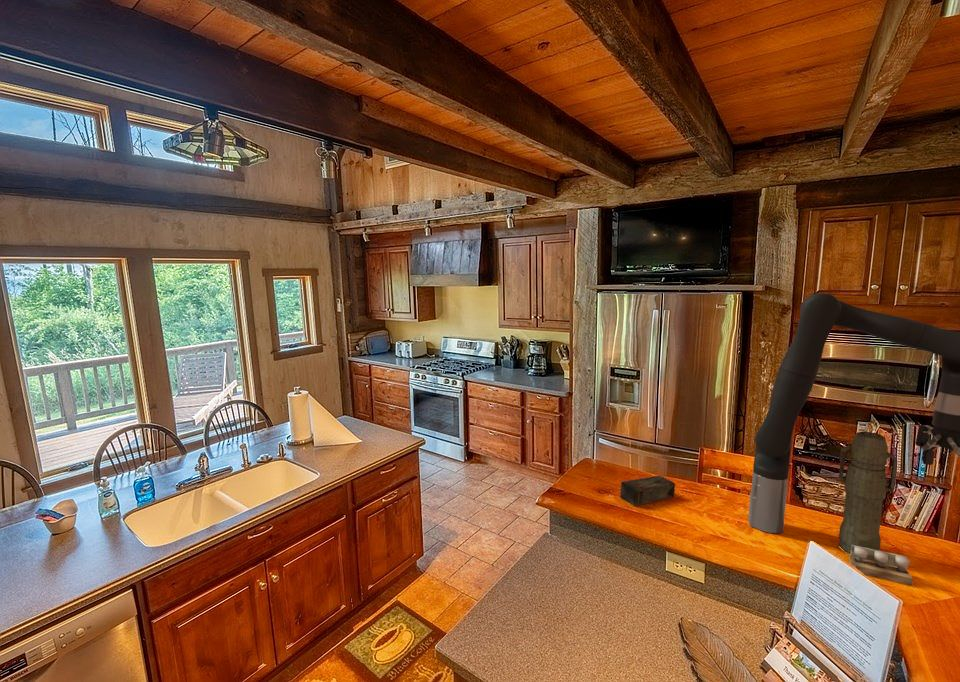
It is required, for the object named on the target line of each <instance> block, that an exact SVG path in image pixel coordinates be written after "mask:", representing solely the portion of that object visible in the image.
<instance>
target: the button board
mask: <svg viewBox="0 0 960 682" xmlns="http://www.w3.org/2000/svg"><path fill="white" fill-rule="evenodd" d="M855 546H856V545H851V554H850V555H849V557H848V559H849V564H850V565H851V566H852V565H853V566H855V567H856V568H857V569H858V570H860V571H861V572H862V573H864V574H865V576H868V577H873V578H876V579H877V578H878V579H881V580H884V579H885V580H886V581H888V582H889V581H890V582H893V583H897V582H898V583H897V584H902V585H905V586H909V587H912V586H913V584H914V583H913V581H914V578H913V577H912V576H911V574H910V573H909V571H908V570H907V568H905V573H902V572H898V571H897V568H898V565H897V564H896V563H895V557H896V555H898V554H896V553H892V552H887V551H883V550H881V551H882V552H885V553H886V554H888V561H887V563H884V568H880V567H877V566H876V564H877V560H876V559H874V554H875V551H880V550H874V549H869V548H865V547H863V548H865V549H867V558H863V563H858V562H856V557H857V556H856V555H855V554H854V548H855ZM903 556H904V557H906V558H908V557H907V556H905V555H903ZM864 574H863V575H864ZM885 580H884V581H885Z"/></svg>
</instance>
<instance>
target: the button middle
mask: <svg viewBox="0 0 960 682" xmlns="http://www.w3.org/2000/svg"><path fill="white" fill-rule="evenodd" d="M882 551H883V550H879V551H875V554H874V559H876V560H877V564H876V566H877V567H880V568H884V563H887V561H888V554H886V553H885V552H886V551H883V552H882Z"/></svg>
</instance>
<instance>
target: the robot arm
mask: <svg viewBox="0 0 960 682" xmlns="http://www.w3.org/2000/svg"><path fill="white" fill-rule="evenodd" d="M799 310H800V314H799V320H798V323H797V328H796V332H795V335H794V337H793V339H792V342H791V344H790V346H789V347H788V348H787V350H786V353H785V354H784V356H783V358H782V361H781V363H780V365H779V368H778V371H777V374H776V376H775V380H774V383H773V387H772V390H771V396H770V402H769V407H768V410H767V412H766V416H765V417H764V420H763V421H762V423H761V425H760V427H759V428H758V430H757V431H756V434H755V437H754V443H755V452H754V453H755V454H754V461H753V466H752V478H751V479H752V481H751V491H750V493H749V505H748V518H747V520H748V523H749V527H752V528H755V529H757V530H759V531H762V532H766V533H770V534H781V533H783V532H784V527H785V513H786V506H787V505H786V504H787V503H786V502H787V493H788V492H787V491H788V483H789V482H788V480H789V471H790V461H791V451H792V437H793V433H794V428H795V424H796V421H797V419H798V417H799V414H800V413H801V411H802V409H803V407H804V405H805V403H806V402H807V400H808V398H809V396H810V393H811V391H812V389H813V386H814V384H815V381H816V379H817V375H818V371H819V369H820V367H821V366H820V365H821V360H822V357H823V353H824V348H825V345H826V342H827V339H828V337H829V336H830V333H831V331H832V329H833V328H834V326H836V327H841V328H847V329H851V330H854V331H858V332H861V333H864V334H867V335H870V336H873V337H876V338H879V339H881V340H884V341H887V342H890V343H894V344H897V345H900V346H904V347H907V348H911V349H915V350H920V351H925V352H929V353H932V354H935V355H937V356H941V377H940V382H939V388H938V393H937V396H936V398H935V399H936V400H935V404H934V408H933V416H932V422H931V424H932V426H933V427H932V426H931V425H929V424H927V425H925V424H924V425H923V424H921V425H919V426H918V429H917V434H916V439H915V443H914V445H915V446H917V447H920V448H921V450H922V456H921V462H922V464H924V465H926V466H932V465H933V464H934V460H935V450H937V449H939V448H942V449H943V448H945V449H947V450H948V451H953V452H954V453H955V455H957V456H958V457H959V458H960V331H955V330H950V329H945V328H941V327H938V326H935V325H932V324H929V323H925V322H922V321H917V320H915V319H911V318H906V317H903V316H896V315H893V314H888V313H882V312H878V311H872V310H870V309H869V310H868V309H864V308H861V307H857V306H855V305H852V304H850V303H846V302H844V301H841V300H839V299H838V298H837V297H836V296H834V295H832V294H831V293H827V292H826V293H825V292H818V293H813V294H810V295H809V296H807V297H805V298H804V300H803V301H802V302H801V304H800V309H799ZM931 436H932V437H933V438H931V439H930V437H931ZM959 477H960V474H959Z"/></svg>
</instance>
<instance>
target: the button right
mask: <svg viewBox="0 0 960 682" xmlns="http://www.w3.org/2000/svg"><path fill="white" fill-rule="evenodd" d="M904 556H905V555H901V554H897V555H896V557H895V563H896V564H897V565H898V568H897V571H898V572H902V573H905V568H906V569H907V568H909V567H910V561H911V560H910V558H908V557H907V556H906V557H907V558H906V557H904Z"/></svg>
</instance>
